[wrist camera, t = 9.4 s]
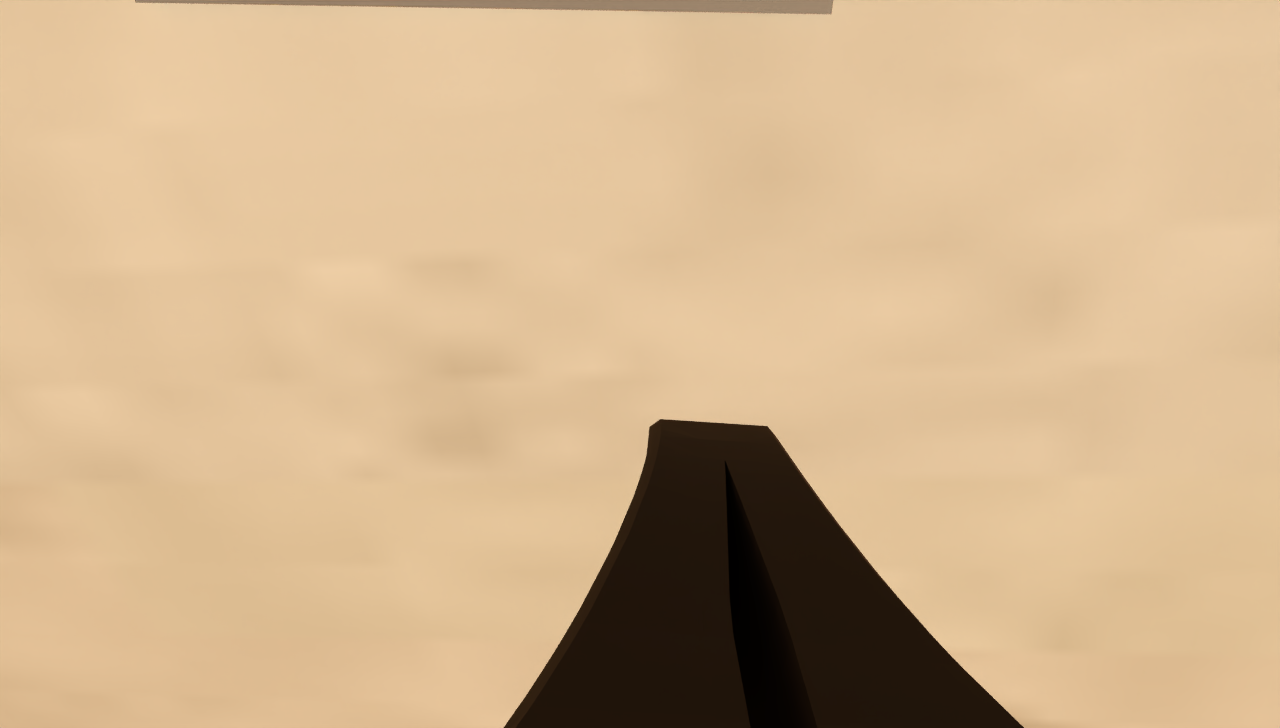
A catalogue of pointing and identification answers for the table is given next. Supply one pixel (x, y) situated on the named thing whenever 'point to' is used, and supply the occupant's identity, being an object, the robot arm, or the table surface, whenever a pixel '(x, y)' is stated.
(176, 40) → the table surface
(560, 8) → the dock
